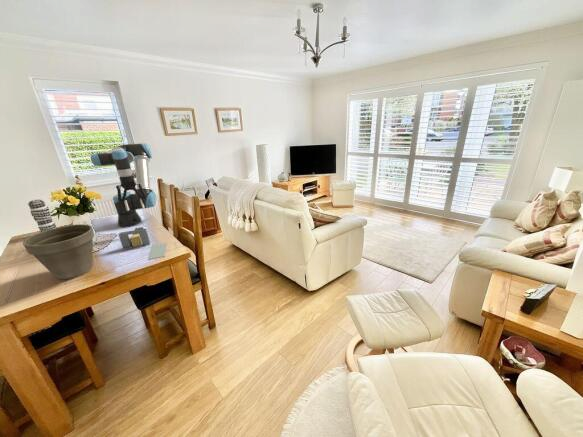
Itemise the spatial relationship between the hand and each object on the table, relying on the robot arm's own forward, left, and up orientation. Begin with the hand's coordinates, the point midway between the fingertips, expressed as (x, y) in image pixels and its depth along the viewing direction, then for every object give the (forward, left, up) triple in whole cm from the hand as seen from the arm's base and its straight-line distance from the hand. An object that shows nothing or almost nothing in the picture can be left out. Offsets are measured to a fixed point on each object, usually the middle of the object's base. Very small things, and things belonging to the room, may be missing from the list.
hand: (136, 209), depth 159 cm
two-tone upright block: (+13, 0, -17) cm, 22 cm away
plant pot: (+39, -25, -18) cm, 50 cm away
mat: (+34, +13, -17) cm, 40 cm away
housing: (+21, 0, -17) cm, 28 cm away
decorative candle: (-26, -61, -18) cm, 69 cm away
